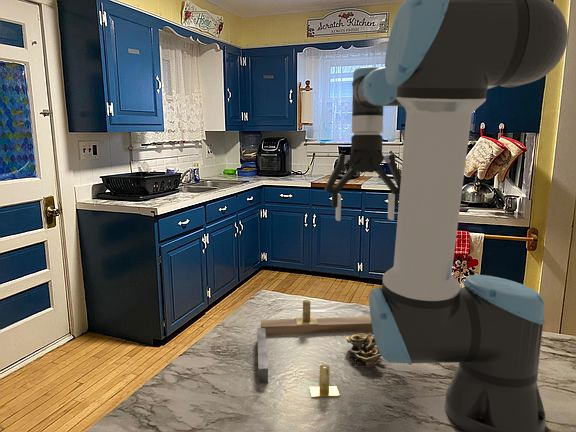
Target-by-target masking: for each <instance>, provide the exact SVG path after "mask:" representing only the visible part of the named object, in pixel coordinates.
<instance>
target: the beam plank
mask: <svg viewBox="0 0 576 432" xmlns="http://www.w3.org/2000/svg"><path fill="white" fill-rule="evenodd" d="M260 328H265V332H266V336H267V335H269V336H270V335H290V334H291V335H294V334H295V335H296V334H323V333H353V332H356V333H357V332H358V333H359V332H373V329H372V323H371V317H370V316H349V317H348V316H347V317H345V316H343V317H340V316H339V317H316V316H311V300H310V299H304V300H302V316H301V317H295V318H284V319H283V318H282V319H281V318H279V319H260Z"/></svg>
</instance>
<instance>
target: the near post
mask: <svg viewBox="0 0 576 432" xmlns="http://www.w3.org/2000/svg"><path fill="white" fill-rule="evenodd" d="M330 368H331V367H330V365H328V364H321V365H319V386H309V392H310V397H311V399H316V398H317V399H320V398H339V397H340V392H339V390H338V388H337V386H336V385H333V386H332V385H330V379H331V378H330V372H331V371H330Z"/></svg>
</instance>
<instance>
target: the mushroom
mask: <svg viewBox="0 0 576 432" xmlns="http://www.w3.org/2000/svg"><path fill="white" fill-rule="evenodd" d="M345 340H346V341H347V343H348V344H351V348H350V349H349V351H351V352H350V354H349V355H350V356H349V359H351V361H353V362H352V363H351V365H352V366H353V368H359V367H360V368H372V367H373V366H376V365H377V364H378V363H380V362H381V361H383V360H384V358H380V357H382V356H381V354H380V353H379V350H378V348H377V345H376V342H375V338H374V335H373V334H372V333H364V332H363V333H359V332H358V333H357V334H356V333H355V334H351V335H348V336H347V335H346V337H345Z"/></svg>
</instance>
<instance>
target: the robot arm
mask: <svg viewBox="0 0 576 432" xmlns="http://www.w3.org/2000/svg"><path fill="white" fill-rule="evenodd" d="M568 37H569V33H568V24H567V22H566V18H565V16H564V14H563V13H562V11H561V10H560V8H559V7H558V6H557V3H554V2H553V1H552V0H404V1H403V2H402V3H401V4H400V6H399V9H398V10H397V12H396V15H395V18H394V19H393V23H392V25H391V29H390V33H389V37H388V40H387V45H386V46H387V47H386V51H385V59H384V67H379V66H363V67H359V68H356V69H355V70H354V71H353V74H352V77H353V78H352V82H351V85H352V86H351V87H352V109H351V110H352V111H351V118H352V119H351V133H353V135H352V136H351V139H350V140H351V143H350V144H351V145H350V154H349V155H347V154H346V155H345V154H344V153H340V154H338V157H337V163H336V164H335V167H334V168H333V171H332V172H331V174H330V177H329V178H328V180H327V183H326V184H325V187H324V191H325V192H327V193H330V194H331V206H332V208H335V217H334V218H335V220H336V222H341V221H342V220H341V218H342V215H341V214H342V194H340V191H341V190H342V189H343V188H344V187H345V186H346V184H348V182H349V181H350V180H351V179H352V178H353V176H354V175H356V174H357V172H358V173H360V174H361V173H364V174H365V173H374V172H375V173H376V174H377V175H378V177H380V179H381V180H382V182H384V184H385V185H386V186H387V188H388V189H389V190H390V191H391V193H390V192H389V193H388V196H387V198H388V200H387V201H388V202H387V219H388V220H390V221H395V208H396V207H398V211H397V223H396V233H395V234H396V235H395V245H394V256H393V266H392V267H391V268H390V269H388V270H387V271H385V272H384V274H383V275H382V283H381V284H382V285H381V287H375V288H372V289H371V290H370V291H369V297H368V304H369V305H368V306H369V307H368V308H369V315H370V316H369V317H371V323H372V329H373V331H372V333H373V334H372V335H373V336H374V338H375V342H376V345H375V346H376V347H377V348H378V350H379V353H380V354H381V356H380V357H381V358H382V359H383V360H385V361H386V362H388V363H392V364H408V365H412V364H437V363H438V364H439V363H440V364H442V363H444V364H445V363H448V364H449V363H458V367H457V369H456V370H455V372H454V374H453V376H452V378H451V380H450V383H449V386H448V387H447V389H446V391H445V396H444V397H445V401H444V410H445V413H446V414H447V416H448V418H449V419H450V420H451V421H452V422H453V423H454V424H455V426H457V427H458V428H460V429H461V430H463V431H464V432H545V430H546V422H547V421H546V419H547V418H546V412H545V408H544V405H543V400H542V397H541V393H540V390H539V385H538V375H539V368H540V367H539V365H540V357H541V356H540V354H541V347H542V341H543V340H542V339H543V330H544V325H545V324H546V321H545V302H544V298H543V297H542V295H541V294H540V293H539V292H537V290H535V289H533V288H532V287H530V286H528V285H524V284H522V283H519V282H517V281H514V280H511V279H506V278H501V277H497V276H492V275H488V274H487V275H486V274H472V275H468V276H467V277H466V278H465V280H464V281H463V286H464V287H461V284H460V281H458V280H457V278H456V277H455V276H454V275H453V266H454V257H455V250H456V241H457V234H458V227H459V220H460V219H459V218H460V208H461V201H462V194H463V185H464V179H465V169H466V163H467V156H468V155H467V153H468V147H469V145H468V144H469V138H470V137H469V136H470V129H471V122H472V114H473V113H474V112H475V111H476V110H477V109H478V108H479V107H481V106H482V105H483V104H484V103H485V102H486V101H487V93H488V90H489V89H493V88H495V87H498V86H500V87H504V88H515V87H519V86H522V85H526V84H531V83H533V82H536V81H538V80H540V79H542V78H543V77H545V76H547V75H549V73H551V71H553V70H554V69H555V67H556V66H557V65H558V64H559V62H561V59H562V58H563V56H564V54H565V52H566V48H567V45H568ZM384 107H403V109H404V110H405V112H406V113H405V126H404V135H403V136H404V138H403V139H404V140H403V149H402V162H401V163H402V164H401V173H400V170H399V168H398V166H397V164H396V156H395V154H394V153H388V154H385V155H384V154H383V135H381V133H383V132H384ZM348 161H349V162H350V164H351V166H350V167H349V169H348V170H347V172H346V173H345V174H344V175H343V176H342V177H341V178H340V180H339V181H338V182H337V184H335V183H336V181H337V180H338V177H339V175H340V174H341V171H342V170H343V167H344V165H345V164H347V163H348ZM382 162H385V164H387V165H388V168H389V170H390V173H391V175H392V177H393V180H394V181H395V183H394V182H393V181H392V179H391V178H390V177H389V176H388V175H387V173H386V171H385V170H384V169H383V168H382V166H381V165H382Z"/></svg>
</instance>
